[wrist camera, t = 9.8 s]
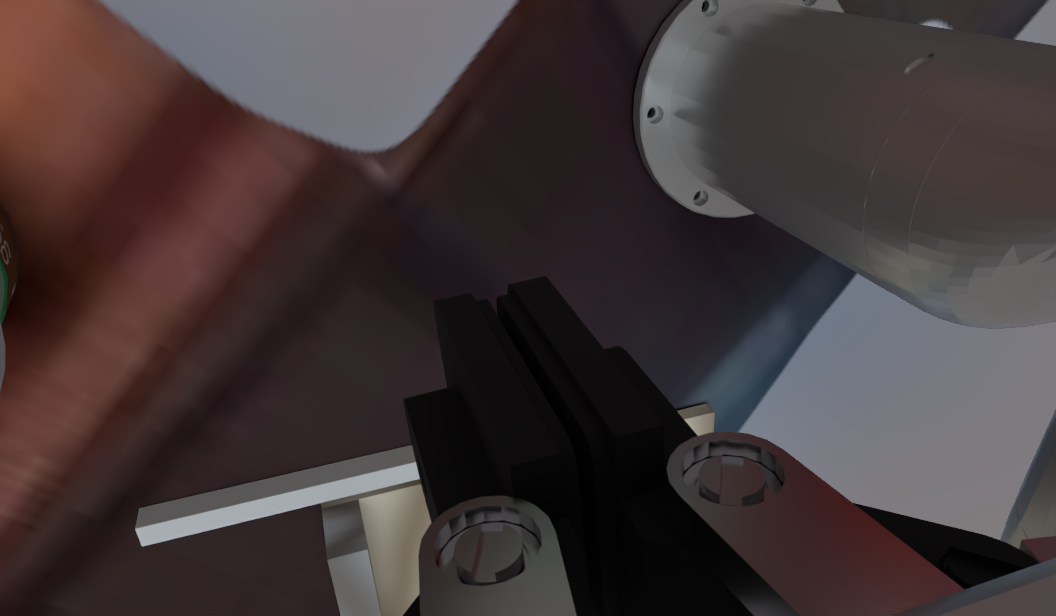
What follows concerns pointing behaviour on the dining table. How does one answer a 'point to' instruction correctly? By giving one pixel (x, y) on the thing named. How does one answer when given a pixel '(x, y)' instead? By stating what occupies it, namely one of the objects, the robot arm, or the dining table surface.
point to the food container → (6, 275)
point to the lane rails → (274, 495)
